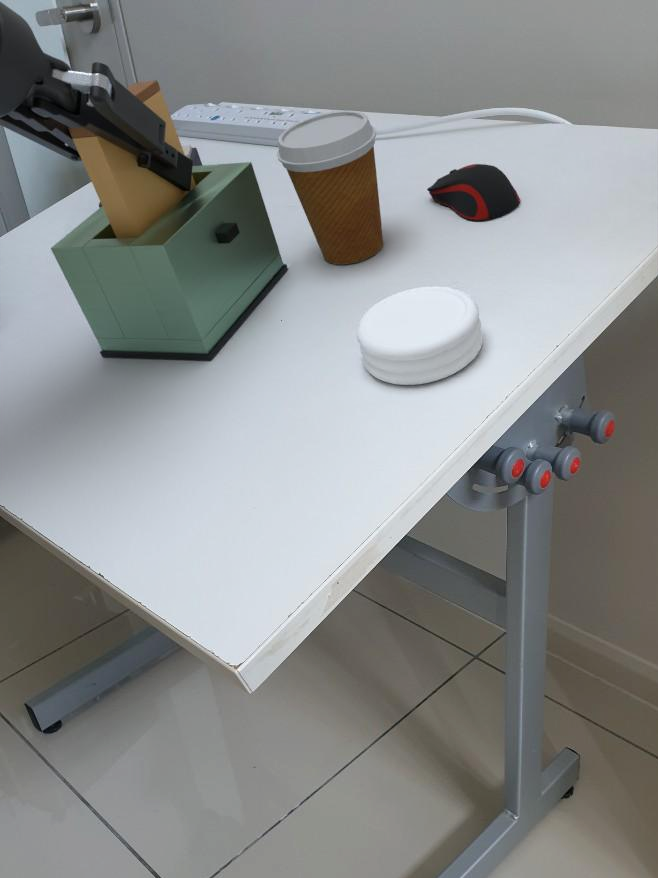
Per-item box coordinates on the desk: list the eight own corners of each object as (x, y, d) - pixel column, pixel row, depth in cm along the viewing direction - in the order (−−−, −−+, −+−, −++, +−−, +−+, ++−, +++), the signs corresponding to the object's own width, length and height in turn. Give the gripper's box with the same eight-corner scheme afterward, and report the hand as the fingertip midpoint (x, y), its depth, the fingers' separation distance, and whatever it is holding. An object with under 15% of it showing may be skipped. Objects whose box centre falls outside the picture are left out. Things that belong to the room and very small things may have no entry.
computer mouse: (469, 178, 96) (464, 141, 93) (531, 202, 88) (527, 162, 86) (422, 200, 94) (415, 163, 91) (481, 226, 87) (475, 187, 84)
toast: (124, 256, 77) (67, 128, 70) (181, 204, 83) (134, 82, 76) (147, 255, 76) (91, 125, 69) (202, 203, 82) (157, 79, 75)
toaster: (102, 357, 83) (47, 249, 75) (187, 270, 93) (146, 168, 86) (220, 361, 78) (173, 246, 70) (296, 269, 88) (263, 160, 81)
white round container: (424, 309, 77) (417, 273, 75) (508, 339, 71) (503, 300, 69) (340, 365, 73) (330, 329, 71) (422, 402, 67) (413, 363, 65)
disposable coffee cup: (359, 279, 84) (327, 153, 76) (289, 266, 89) (252, 147, 81) (417, 233, 88) (393, 110, 80) (348, 223, 94) (318, 106, 86)
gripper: (-130, 105, 62) (104, 221, 83) (37, 85, 56) (241, 215, 77) (-121, -3, 61) (110, 141, 83) (47, -35, 55) (249, 129, 77)
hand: (173, 177), depth 80 cm, fingers closed on toast, 2 cm apart
